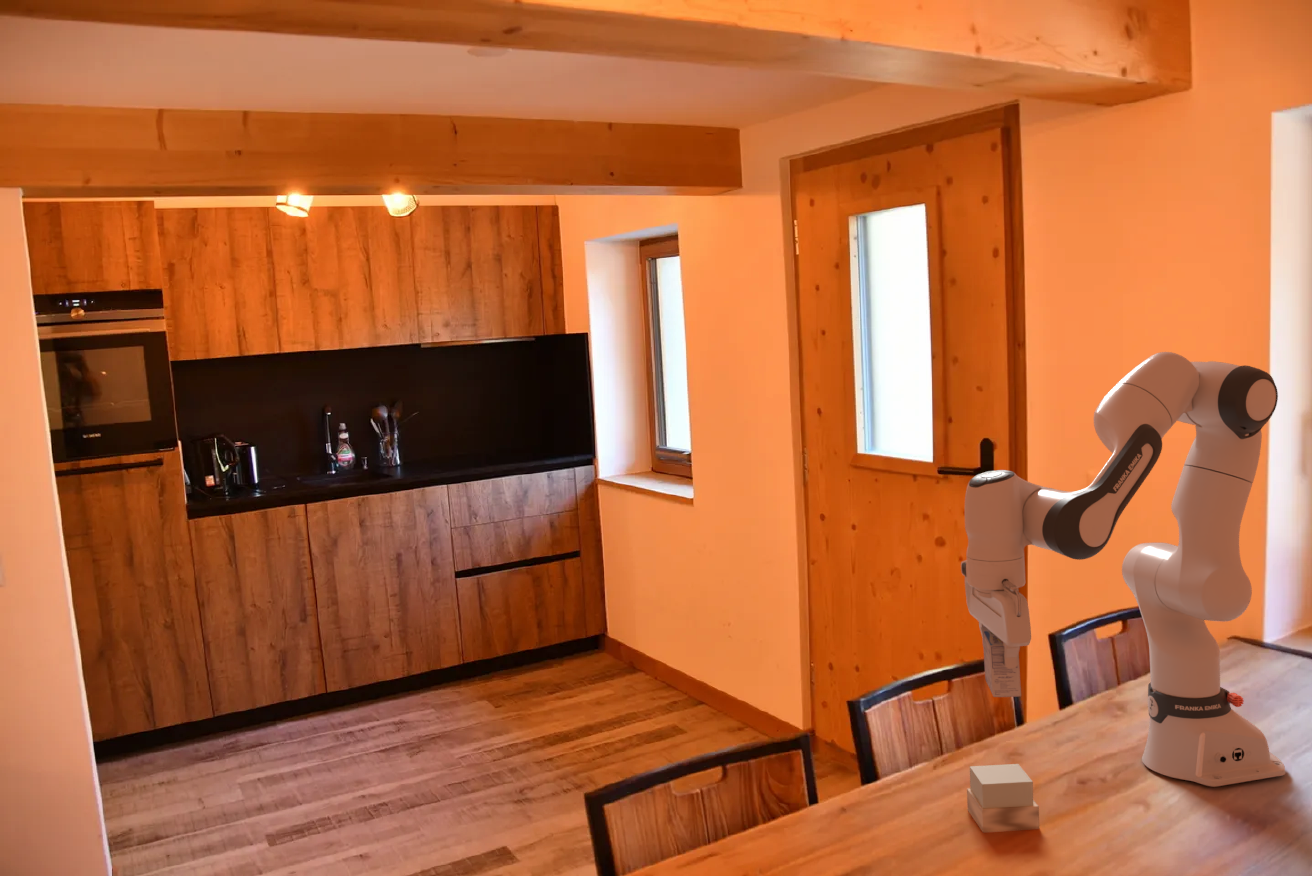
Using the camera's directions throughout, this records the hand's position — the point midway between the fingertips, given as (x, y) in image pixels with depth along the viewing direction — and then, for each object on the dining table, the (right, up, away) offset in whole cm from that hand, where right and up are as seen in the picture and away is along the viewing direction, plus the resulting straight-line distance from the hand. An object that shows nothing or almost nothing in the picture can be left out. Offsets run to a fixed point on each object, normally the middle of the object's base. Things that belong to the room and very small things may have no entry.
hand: (999, 657), depth 169 cm
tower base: (+1, -27, +2) cm, 27 cm away
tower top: (+1, -23, +2) cm, 23 cm away
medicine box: (+1, -5, +1) cm, 6 cm away
